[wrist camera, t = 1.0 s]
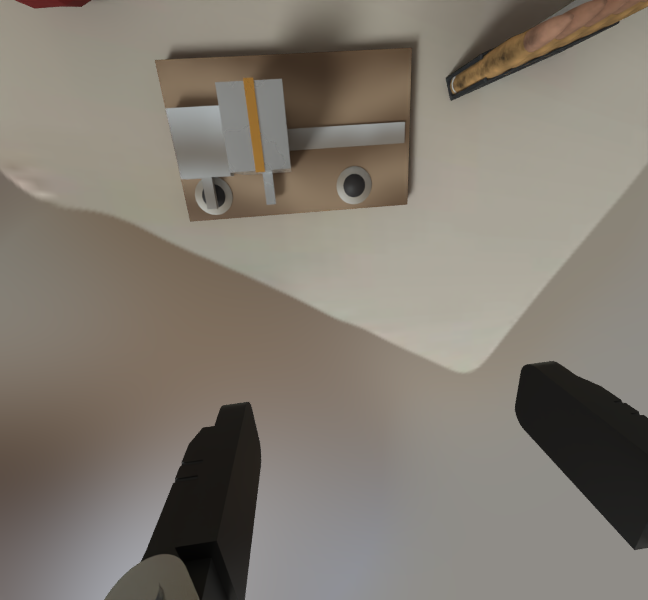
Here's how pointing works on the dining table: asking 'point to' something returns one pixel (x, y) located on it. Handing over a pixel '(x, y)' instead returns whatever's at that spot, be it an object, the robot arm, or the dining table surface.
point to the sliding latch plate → (296, 131)
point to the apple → (53, 3)
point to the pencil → (568, 8)
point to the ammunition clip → (541, 43)
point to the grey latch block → (255, 129)
